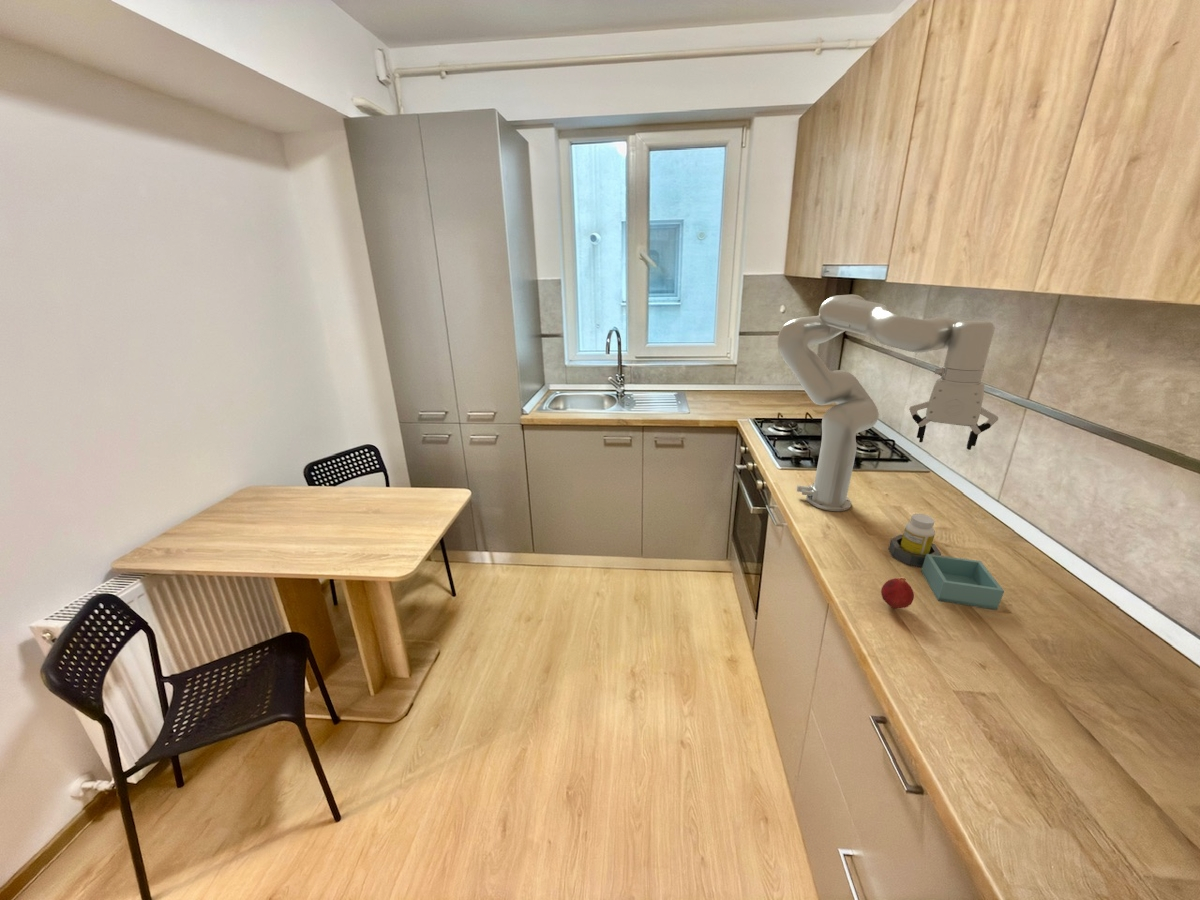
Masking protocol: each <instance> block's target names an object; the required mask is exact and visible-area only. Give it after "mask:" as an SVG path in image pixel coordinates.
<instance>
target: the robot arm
mask: <svg viewBox="0 0 1200 900" xmlns="http://www.w3.org/2000/svg"><path fill="white" fill-rule="evenodd" d="M846 331H847V332H850V333H853V334H854V333H855V334H858V335H862V336H864V337H868V338H870V339H872V340H874V341H875V342H877V343H880V344H882V345H885V346H887V347H891V348H896V349H899V350H902V351H908V352H911V353H927V352H931V351H936V350H944V349H945V350H946V349H947V351H946V356H945V360H944V364H943V367H941V368H935V371H934V375H938V376H940V378H937V379H936V381H935V383H934V385H933V387H932V391H931V393H930V397H929V399H928V401H925V402H921V403H918V404H915V405H910V407H909V412H910V414H911V418H912V420H914V422H915V423H916V424H917V425H918V430H917V434H916V438H917V439H919V441H918V443H921V444H922V443H923V442H924V437H925V434H926V429H927V424H928V423H930V422H933V423H939V424H946V425H947V424H948V425H951V426H952V425H953V426H961V427H969V428H970V429H971V431H970V433H969V436H968V440H967V444H966V449H967V450H968V451H970V450H972V447H975V446H976V444H977V440H978V436H979V435H981V433H982V432H985V431H987V430H989V429H990V428H991V427H992V426H993V425H994V424H996V423H997V421H999V416H998V415H996V414H995V413H994V412H993V413H992V412H991V411H989V410H987V409H986V408H984V407H983V401H984V395H985V383H984V382H982V377H983V373H984V370H985V365H986V362H987V360H988V359H987V358H988V356H989V355H988V354H989V351H990V347H991V345H992V340H993V336H994V333H995V325H994V323H993V322H990V321H988V320H979V319H977V320H974V319H973V320H972V319H970V320H962V319H961V320H960V319H955V318H950V317H942V316H941V317H933V318H932V317H931V318H925V319H919V318H914V317H909V316H905V315H900V314H896V313H893V312H891V311H889V308H888V306H887V305H885V304H883V303H879V302H875V301H874V302H873V301H869V300H866V299H865V298H864V297H862V296H861V295H858V294H851V293H850V294H841V295H840V294H839V295H833V296H829V298H827V299H826V300H824V301H823V302H822V303H821V305H820V307H819V309H818V315H812V316H804V317H798V318H793V319H791V320H789V321H787V322H785V324H783V326H782V327H781V329H780V330H779V332H778V335H777V349H778V353H779V355H780V357H781V359H782V360H783V362H785V365H786V366H787V367H788V368H789V369H790V371H791V372H792V373H793V375H794V377H795V378H796V380H797V381H798V383H799V384H800V385H801V387H802V389H803V391H805V393H806V395H807V396H808V398H809V399H810V400H811V401H812V402H813V403H814V404H815V405H818V406H826V405H832V404H836V405H833V406H831V407H830V408H829V409H828V410H826V411H825V413H824V415H823V416H822V420H821V444H820V449H819V455H818V461H817V466H816V472H815V477H814V482H812V483H811V484H810V485H807V486H805V485H798V484H797V486H796V492H800V493H801V495H803V496H806V497H805V499H806V501H807V502H808V503H809V504H810V505H812V506H813V507H816V508H818V509H821V510H824V511H830V512H844V511H847V510H849V509H850V508H851V506H852V501H851V499H850V498H849V497H848V493H849V488H850V483H851V478H852V474H853V469H854V464H855V458H856V454H857V442H856V441H857V439H856V437H857V436H856V435H857V434H859V433H860V432H864V431H867V430H869V429H871V428H872V427H874V426H875V425H876V424H877V422H878V420H879V416H880V415H879V409H878V407H877V405H876V403H875V402H874V400H873V399H872V397H871V396H870V394H869V393H868V392H867V390H866V389H865V388H864V386H863V385H862V384H861V382H860V381H859V380H858V378H857V377H856V376H855V375H854V374H853V373H851V372H850V371H847V370H842V369H837V370H830V369H829V368H828V366H827V365H826V364H825V363H824V361H823V360H822V358H821V357H820V356H819V355H818V354H817V353H815V352H814V351H813V350H811V348H809V346H814V345H819V344H823V343H825V342H828V341H830V340H832V339H834V338H835V337H837V336H839V335H842V334H843V333H844V332H846ZM923 409H926V412H925V416H924V417H921V416H920V414H918V411H921V410H923ZM980 415H982V416H983V417H985V418H986V419H987V420H986V421H985V422H983V423H982V424H978V422H979V419H980Z"/></svg>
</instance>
